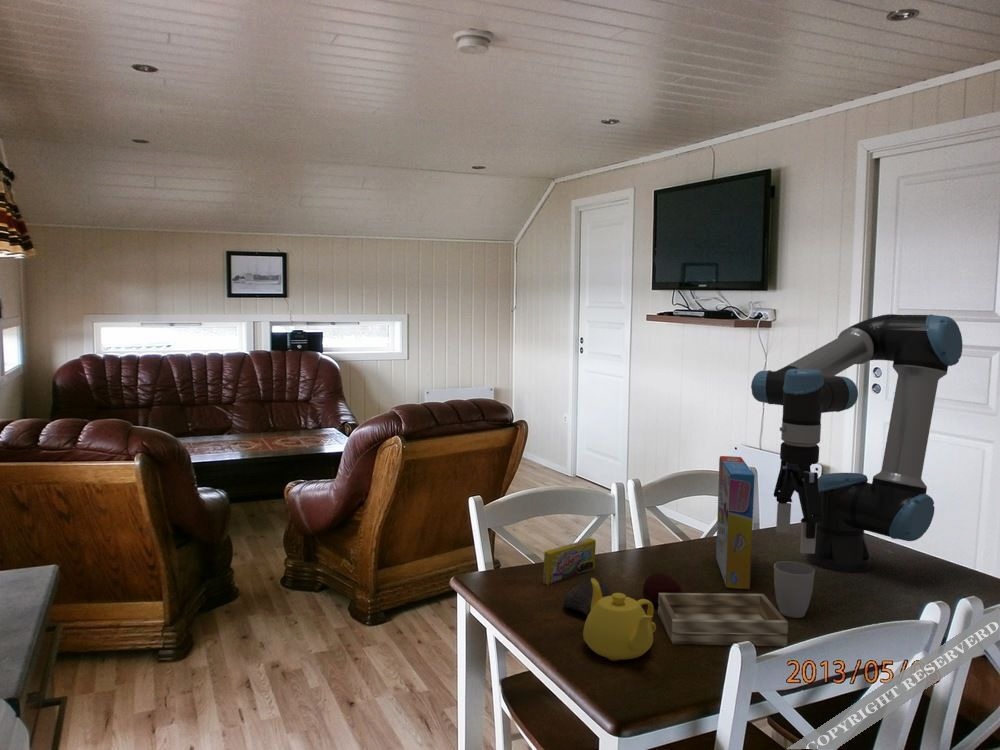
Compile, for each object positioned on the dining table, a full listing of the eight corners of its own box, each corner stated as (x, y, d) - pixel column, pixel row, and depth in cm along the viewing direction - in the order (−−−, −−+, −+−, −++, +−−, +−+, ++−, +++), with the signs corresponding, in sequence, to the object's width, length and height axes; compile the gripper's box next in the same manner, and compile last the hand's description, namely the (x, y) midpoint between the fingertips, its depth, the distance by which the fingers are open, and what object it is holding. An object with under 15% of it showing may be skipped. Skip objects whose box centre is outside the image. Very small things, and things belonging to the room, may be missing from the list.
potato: (680, 613, 159) (681, 582, 158) (640, 608, 162) (641, 577, 161) (683, 600, 166) (684, 570, 165) (644, 595, 169) (645, 565, 168)
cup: (805, 606, 163) (808, 561, 162) (817, 622, 155) (820, 575, 154) (767, 604, 164) (769, 560, 163) (777, 620, 156) (779, 574, 155)
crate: (762, 616, 158) (763, 593, 157) (786, 647, 144) (788, 622, 143) (658, 615, 158) (658, 592, 157) (672, 646, 144) (673, 621, 143)
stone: (563, 633, 156) (591, 612, 150) (551, 594, 161) (578, 573, 155) (598, 631, 162) (626, 611, 156) (585, 594, 167) (612, 573, 161)
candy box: (548, 588, 173) (549, 553, 172) (542, 585, 174) (542, 551, 174) (595, 571, 183) (596, 539, 182) (589, 569, 185) (589, 537, 184)
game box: (750, 590, 172) (755, 474, 169) (725, 589, 173) (730, 473, 170) (737, 559, 192) (741, 455, 189) (715, 558, 193) (719, 455, 190)
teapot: (687, 668, 135) (688, 607, 134) (617, 685, 129) (619, 621, 128) (625, 624, 154) (626, 570, 152) (561, 637, 147) (562, 581, 146)
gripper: (761, 432, 168) (757, 524, 170) (805, 454, 143) (799, 562, 145) (795, 433, 168) (790, 525, 170) (844, 455, 143) (838, 562, 145)
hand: (794, 542), depth 158 cm, fingers open, 13 cm apart
